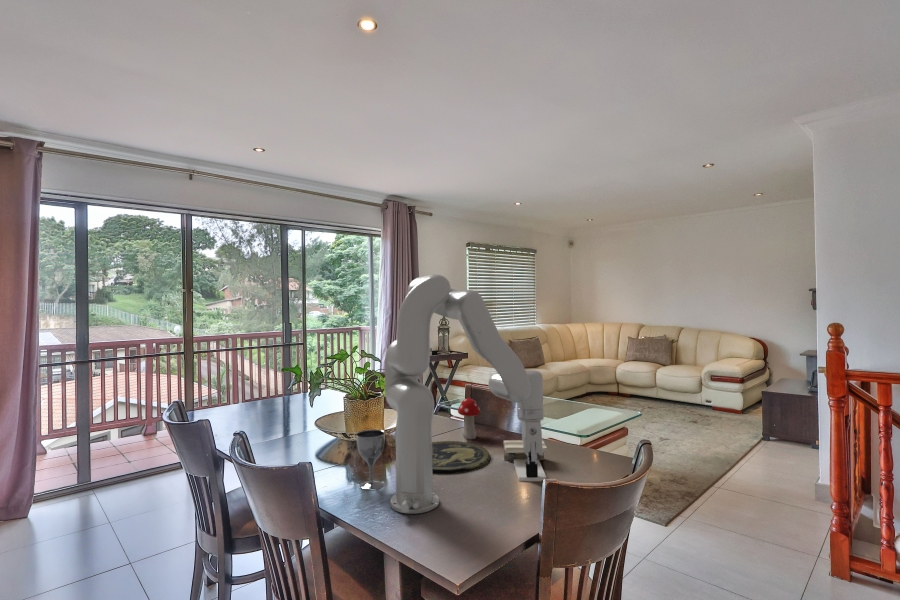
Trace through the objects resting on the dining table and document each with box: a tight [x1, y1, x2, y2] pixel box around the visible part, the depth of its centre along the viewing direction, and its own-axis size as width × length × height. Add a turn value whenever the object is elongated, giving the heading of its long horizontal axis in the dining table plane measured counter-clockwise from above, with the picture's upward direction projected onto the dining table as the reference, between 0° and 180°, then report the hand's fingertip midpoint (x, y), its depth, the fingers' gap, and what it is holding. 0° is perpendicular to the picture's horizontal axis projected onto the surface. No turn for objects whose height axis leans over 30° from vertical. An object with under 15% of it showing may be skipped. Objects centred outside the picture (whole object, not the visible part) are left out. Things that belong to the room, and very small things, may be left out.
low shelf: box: [503, 439, 548, 463], centre depth 150 cm, size 8×13×6 cm, turn 87°
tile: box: [513, 459, 547, 482], centre depth 142 cm, size 16×8×2 cm, turn 177°
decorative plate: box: [432, 440, 491, 475], centre depth 156 cm, size 30×2×30 cm
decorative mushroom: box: [457, 397, 481, 440], centre depth 180 cm, size 10×9×15 cm
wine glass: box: [356, 429, 386, 490], centre depth 133 cm, size 8×8×15 cm
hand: (531, 476), depth 135 cm, fingers closed
